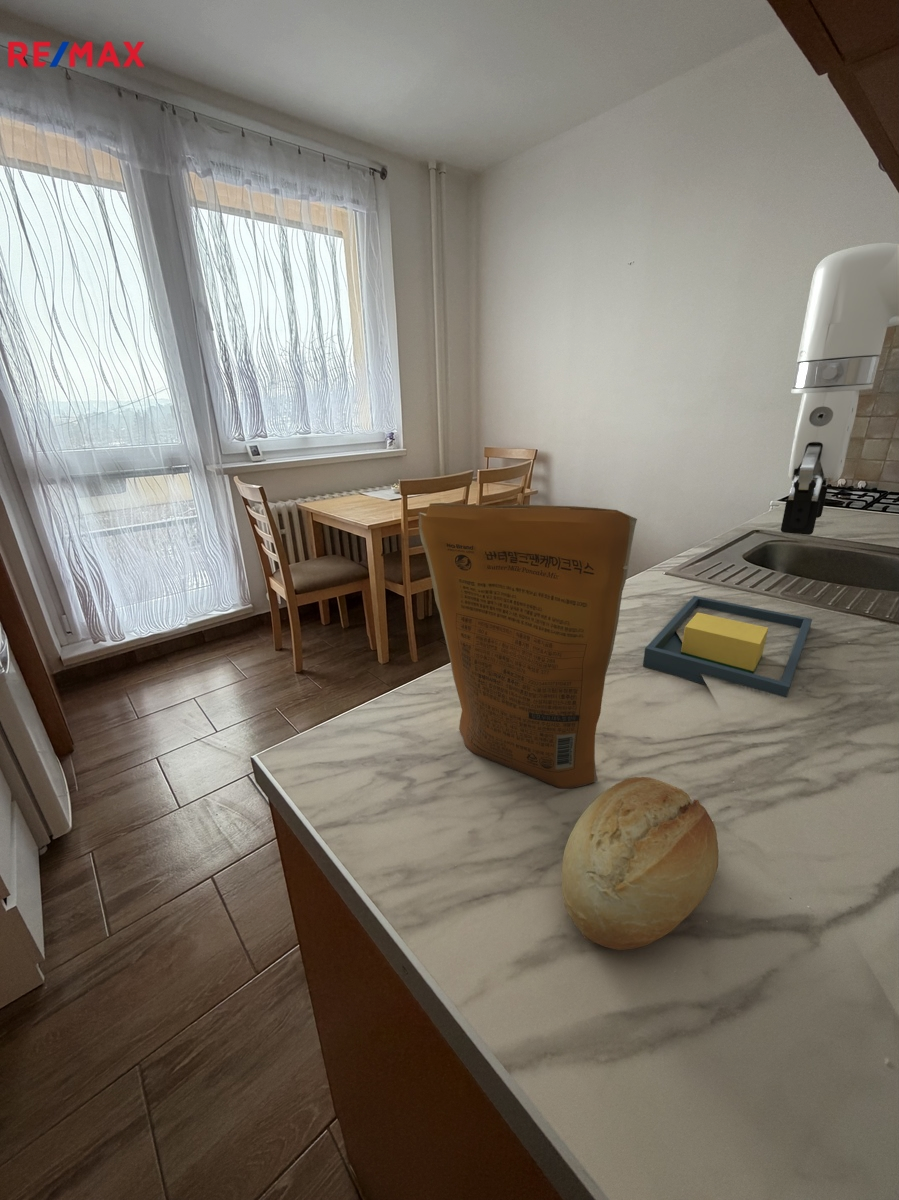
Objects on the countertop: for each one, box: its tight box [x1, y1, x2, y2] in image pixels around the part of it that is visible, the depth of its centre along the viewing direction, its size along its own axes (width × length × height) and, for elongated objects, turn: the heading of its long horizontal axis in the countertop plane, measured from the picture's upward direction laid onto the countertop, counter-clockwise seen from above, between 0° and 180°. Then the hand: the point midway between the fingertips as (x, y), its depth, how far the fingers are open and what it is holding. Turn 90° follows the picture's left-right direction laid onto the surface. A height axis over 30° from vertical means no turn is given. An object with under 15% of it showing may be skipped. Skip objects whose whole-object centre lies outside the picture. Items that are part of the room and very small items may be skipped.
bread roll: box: [561, 776, 719, 951], centre depth 37 cm, size 10×15×8 cm, turn 135°
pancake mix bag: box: [418, 502, 638, 789], centre depth 47 cm, size 7×19×28 cm, turn 56°
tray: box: [642, 595, 813, 698], centre depth 72 cm, size 24×17×3 cm
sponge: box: [681, 612, 769, 674], centre depth 67 cm, size 6×9×5 cm, turn 50°
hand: (801, 524), depth 62 cm, fingers open, 9 cm apart
